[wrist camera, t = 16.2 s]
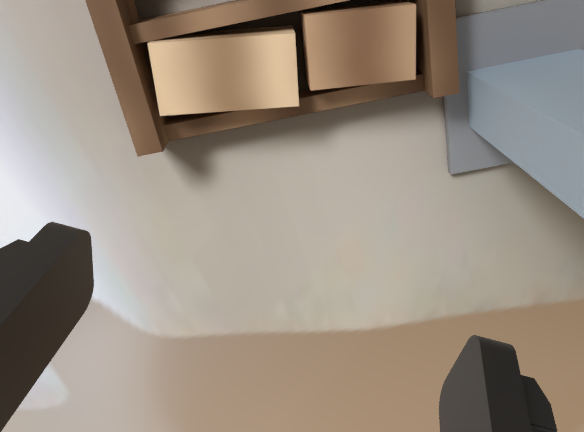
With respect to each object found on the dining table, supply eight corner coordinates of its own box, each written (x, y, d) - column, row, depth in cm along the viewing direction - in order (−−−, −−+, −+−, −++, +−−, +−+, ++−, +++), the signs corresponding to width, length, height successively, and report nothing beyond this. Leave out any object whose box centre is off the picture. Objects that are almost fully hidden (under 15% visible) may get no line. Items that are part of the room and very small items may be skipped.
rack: (150, 136, 35) (137, 156, 31) (80, -87, 29) (54, -94, 25) (438, 79, 34) (459, 92, 30) (423, -161, 28) (446, -179, 25)
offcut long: (171, 99, 34) (159, 116, 30) (160, 34, 32) (147, 43, 29) (295, 90, 34) (299, 106, 30) (291, 25, 32) (295, 33, 29)
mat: (438, 21, 32) (441, 22, 32) (602, -12, 32) (608, -12, 31) (448, 171, 37) (450, 174, 36) (592, 143, 36) (597, 146, 36)
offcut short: (305, 76, 34) (310, 90, 30) (299, 9, 32) (304, 15, 28) (399, 66, 34) (415, 79, 30) (399, -1, 32) (416, 4, 28)
